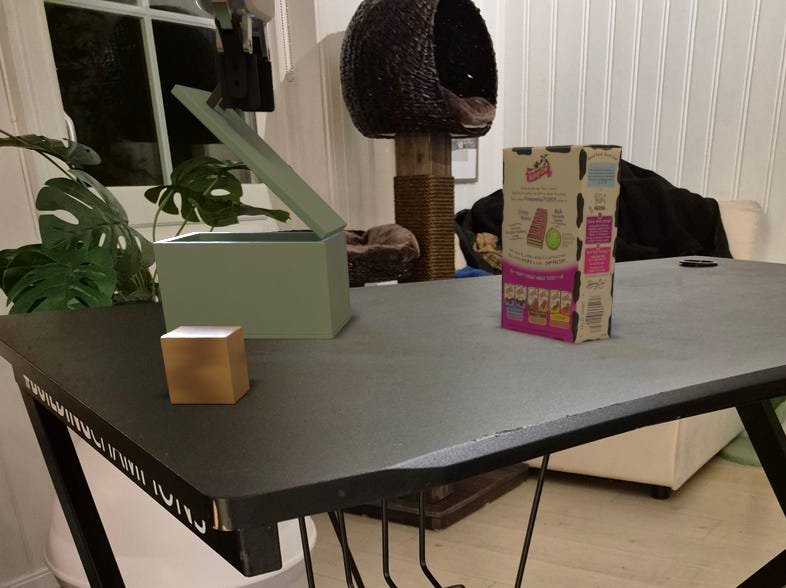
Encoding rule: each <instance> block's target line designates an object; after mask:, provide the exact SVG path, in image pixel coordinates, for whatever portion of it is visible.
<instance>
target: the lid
mask: <svg viewBox="0 0 786 588" xmlns="http://www.w3.org/2000/svg"><path fill="white" fill-rule="evenodd" d="M170 94H172V95H173V97H175V98H176V99H177V100H178V101H179V102H180V103H181V104H182V105H183V106H184V107H185V108H186V109H187V110H188V111H189V112H190V113H192V115H193V116H194V117H196V119H197V120H198V121H199V122H200V123H202V125H204V127H205V128H207V129H208V131H210V132H211V133H212V134H213V135H214V136H215V137H216V138H217V139H218V140H219V141H220V142H221V143H222V144H223V145H224V146H225V147H226V148H227V149H228V150H229V151H230V152H231V153H232V154H233V155H234V156H235V157H236V158H237V159H238V160H239V161H240V162H241V163H243V165H245V166H246V167H247V168H248V169H249V171H250V172H251V173H253V175H255V177H256V178H258V179H259V180H260V181H261V182H262V183H263V184H264V185H265V186H266V187H267V188H268V189H269V190H270V191H271V192H272V193H273V194H274V195H275V196H276V198H278V199H279V200H280V201H281V202H282V203H283V204H284V205H285V206H286V207H287V208H288V209H289V210H290V211H292V212H293V213H294V214H295V215H296V216H297V218H299V220H300V221H301V222H303V224H305V225H306V227H308V228H309V229H310V230H311V232H314V233H315V234H316V235H317V236H318V237H319V238H320V239H321V240H323V239H325V238H327V237H329V236H331V235H333V234H335V233H337V232H342V231H343V230H345V228H346V227H347V226H348V222H347V221H346V220H344V219H343V218H342V217H341V216H340V214H339V213H338V212H337V211H335V209H334V208H332V207H331V205H329V204H328V202H326V201H325V200H324V199H323V198H322V197H321V195H319V194H318V192H316V191H315V189H313V188H312V187H311V186H310V185H309V183H307V182H306V181H305V180H304V179H303V178H302V177H301V176H300V175H299V174H298V173H297V172H296V171H295V170H294V169H293V167H291V166H290V165H289V164H288V162H286V161H285V160H284V159H283V158H282V157H281V156H280V155H279V154H278V153H277V152H276V150H274V149H273V148H272V147H271V146H270V145H269V144H268V143H267V142H266V141H265V140H264V139H263V138H262V137H261V136H260V135H259V134H258V133H257V131H256V130H254V129H253V127H251V126H250V125H249V124H248V122H246V121H245V120H244V119H243V118H242V117H241V116H240V115H239V114H238V113H237V112H236V111H235V109H227V108H225V107H224V106H223V103H222V93H221V83H220V82H218V84H217V85H216V86H215V88H214V89H213V90H212V92H211V91H206V90H202V89H198V88H194V87H189V86H184V85H181V84H175V85H174V87H173V88H172V89H171V91H170Z"/></svg>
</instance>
